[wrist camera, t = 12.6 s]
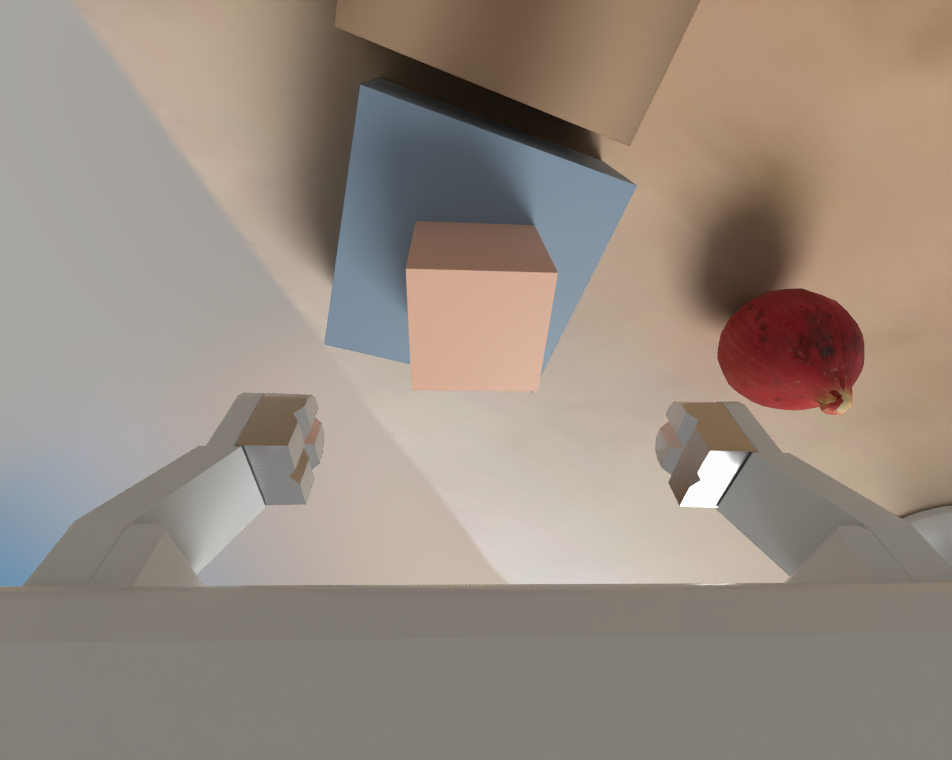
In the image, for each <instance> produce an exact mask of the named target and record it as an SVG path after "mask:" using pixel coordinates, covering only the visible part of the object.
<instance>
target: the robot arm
mask: <svg viewBox="0 0 952 760" xmlns="http://www.w3.org/2000/svg"><path fill="white" fill-rule="evenodd" d="M317 411H318V405H317V402H316V398H315V397H314V396H313V395H299V394H276V393H266V394H264V393H242V394H240V395H238V397H237V398H236V400H235V401H234V403H233V404H232V406H231V408H230V409H229V411H228V412H227V414H226V415H225V417H224V419H223V420H222V422H221V423H220V425H219V426H218V428H217V430H216V431H215V433H214V434H213V436H212V438H211V439H210V441H209V442H208V444H207V446H198V447H196V448H195V449H193V450H191V451H190V452H188V453H187V454H185V455H183V456H181V457H180V458H178V459H176V460H175V461H173V462H171V463H170V464H168V465H167V466H165V467H163V468H162V469H160V470H158V471H157V472H155V473H153V474H152V475H150V476H149V477H147V478H145V479H144V480H142V481H140V482H138V483H137V484H135V485H134V486H132V487H130V488H129V489H127V490H125V491H124V492H122V493H120V494H119V495H117V496H115V497H114V498H112V499H111V500H109V501H107V502H105V503H104V504H102V505H101V506H99V507H97V508H96V509H94V510H92V511H91V512H89V513H87V514H86V515H84V516H82V517H81V518H79V519H77V520H76V521H74V523H73V524H72V525H71V527H70V528H69V529H68V530H67V531H66V533H65V534H64V535H63V536H62V538H61V539H60V540H59V541H58V543H57V544H56V545H55V547H54V548H53V549H52V550H51V551H50V553H49V554H48V555H47V556H46V558H45V559H44V560H43V561H42V563H41V564H40V565H39V566H38V568H37V569H36V570H35V571H34V573H33V574H32V575H31V576H30V578H29V579H28V580H27V581H26V583H25V584H24V585H23V586H22V587H0V760H952V567H951V566H950V565H949V564H948V563H947V562H946V561H945V560H944V559H943V558H942V557H941V556H940V555H939V553H938V552H937V551H936V550H935V549H934V548H933V547H932V546H931V545H930V544H929V543H928V542H927V541H926V539H925V538H924V537H923V536H922V535H921V534H920V533H919V532H918V531H917V530H916V529H915V528H914V527H913V525H912V524H910V523H908V522H907V521H905V520H903V519H901V518H900V517H898V516H896V515H895V514H893V513H891V512H889V511H888V510H886V509H884V508H883V507H881V506H879V505H877V504H876V503H874V502H872V501H871V500H869V499H867V498H865V497H864V496H862V495H860V494H859V493H857V492H855V491H853V490H852V489H850V488H848V487H847V486H845V485H843V484H841V483H840V482H838V481H836V480H835V479H833V478H831V477H829V476H828V475H826V474H824V473H823V472H821V471H819V470H817V469H816V468H814V467H812V466H811V465H809V464H807V463H805V462H804V461H802V460H800V459H799V458H797V457H795V456H793V455H792V454H790V453H782V452H781V450H780V449H779V448H778V447H777V445H776V444H775V443H774V441H773V440H772V439H771V438H770V436H769V435H768V434H767V433H766V431H765V430H764V429H763V428H762V426H761V425H760V424H759V422H758V421H757V420H756V419H755V417H754V416H753V415H752V414H751V412H750V411H749V410H748V408H747V407H746V406H745V405H744V404H742V403H740V402H673V403H672V404H671V405H670V406H669V408H668V411H667V413H666V416H667V418H668V420H669V422H668V423H666V424H665V425H664V426H662V427H661V428H660V429H659V432H658V434H657V437H656V448H655V450H656V455H657V459H658V461H659V463H660V466H661V467H662V468H663V469H664V470H666V471H667V472H668V473H669V474H671V477H670V480H669V482H668V483H669V485H670V487H671V489H672V491H673V493H674V495H675V497H676V499H677V501H678V504H679V506H688V507H717V508H716V510H718V511H719V512H720V513H721V514H722V515H723V516H724V517H725V518H726V519H727V520H729V521H730V522H731V523H732V524H733V525H734V526H735V527H736V528H737V529H738V530H740V531H741V532H742V533H743V534H744V535H745V536H746V537H747V538H748V539H749V540H751V541H752V542H753V543H754V544H755V545H756V546H757V547H758V548H759V549H760V550H762V551H763V552H764V553H765V554H766V555H767V556H768V557H769V558H770V559H771V560H773V561H774V562H775V563H776V564H777V565H778V566H779V567H780V568H781V569H782V570H784V571H785V572H786V573H787V574H788V575H789V576H790V577H789V578H788V579H787V580H786V581H785V582H784V583H690V584H503V585H502V584H496V585H301V586H300V585H284V586H283V585H277V586H276V585H275V586H273V585H271V586H204V585H203V584H202V582H201V581H200V580H199V578H198V577H197V575H196V574H197V573H198V572H199V571H200V570H201V569H202V568H203V567H205V566H206V565H207V564H208V563H209V562H210V561H211V560H212V559H213V558H214V557H215V556H216V555H217V554H218V553H219V552H220V551H221V550H222V549H223V548H224V547H225V546H226V545H227V544H228V543H229V542H230V541H231V540H232V539H233V538H234V537H236V536H237V535H238V534H239V533H240V532H241V531H242V530H243V529H244V528H245V527H246V526H247V525H248V524H249V523H250V522H251V521H252V520H253V519H254V518H255V517H256V516H257V515H258V514H259V513H260V512H261V511H262V510H263V509H264V508H265V507H266V506H265V505H293V504H306V503H307V500H308V497H309V494H310V491H311V488H312V485H313V482H314V477H313V473H312V469H313V468H315V467H316V466H317V465H318V464H320V460H321V457H322V454H323V446H324V431H323V427H322V423H321V422H320V421H318V420H317V419H316V418H315V417H316V414H317Z"/></svg>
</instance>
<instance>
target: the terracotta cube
mask: <svg viewBox="0 0 952 760" xmlns="http://www.w3.org/2000/svg"><path fill="white" fill-rule="evenodd" d="M557 276H558V272H557V270H556V268H555V266H554V264H553V262H552V260H551V258H550V256H549V254H548V251H547V249H546V247H545V245H544V243H543V241H542V239H541V237H540V235H539V233H538V231H537V229H536V227H535V225H513V224H485V223H456V222H428V221H415V226H414V231H413V236H412V240H411V245H410V250H409V255H408V260H407V265H406V286H407V306H408V326H409V346H410V366H411V387H412V390H432V391H538V387H539V382H540V376H541V370H542V364H543V358H544V352H545V346H546V340H547V335H548V329H549V323H550V317H551V311H552V305H553V299H554V293H555V288H556V282H557Z"/></svg>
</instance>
